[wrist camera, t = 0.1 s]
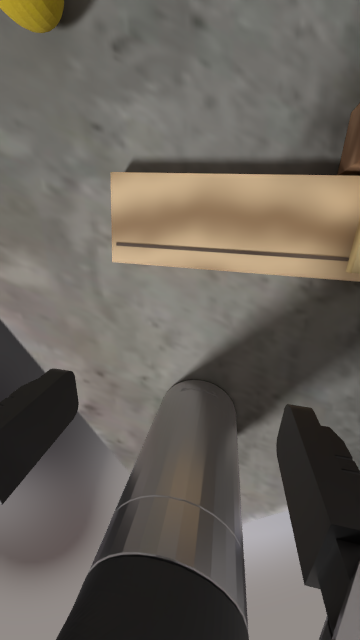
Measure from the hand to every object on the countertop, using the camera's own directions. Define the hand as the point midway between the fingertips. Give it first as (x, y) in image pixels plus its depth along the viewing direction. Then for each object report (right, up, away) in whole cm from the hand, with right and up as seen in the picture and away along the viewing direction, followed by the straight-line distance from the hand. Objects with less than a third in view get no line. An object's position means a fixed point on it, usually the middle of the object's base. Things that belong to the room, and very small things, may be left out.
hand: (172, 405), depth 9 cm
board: (+7, +12, +14) cm, 19 cm away
